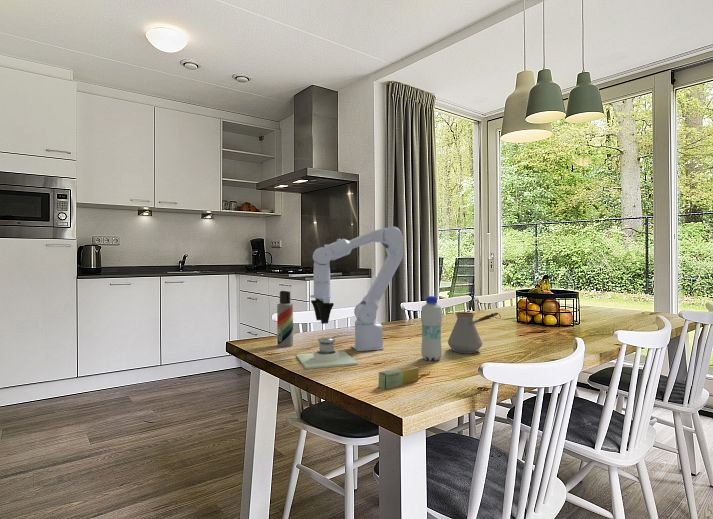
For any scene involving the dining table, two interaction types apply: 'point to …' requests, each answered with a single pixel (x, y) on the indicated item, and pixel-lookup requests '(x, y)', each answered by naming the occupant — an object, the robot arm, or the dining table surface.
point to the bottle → (431, 329)
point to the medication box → (398, 376)
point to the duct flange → (326, 359)
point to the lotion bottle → (285, 320)
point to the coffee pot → (466, 333)
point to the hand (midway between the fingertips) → (322, 321)
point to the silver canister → (326, 345)
